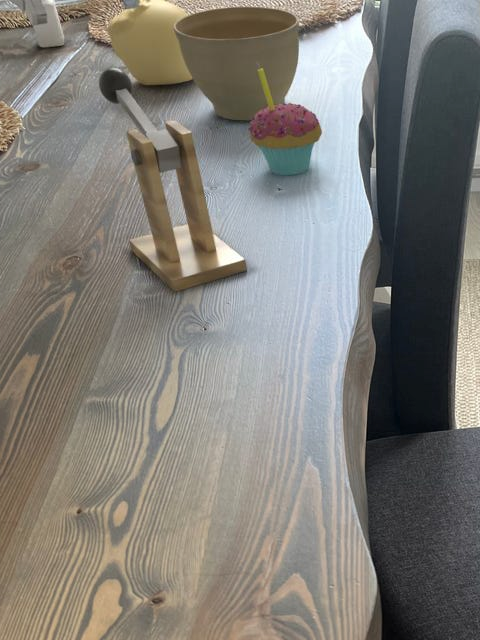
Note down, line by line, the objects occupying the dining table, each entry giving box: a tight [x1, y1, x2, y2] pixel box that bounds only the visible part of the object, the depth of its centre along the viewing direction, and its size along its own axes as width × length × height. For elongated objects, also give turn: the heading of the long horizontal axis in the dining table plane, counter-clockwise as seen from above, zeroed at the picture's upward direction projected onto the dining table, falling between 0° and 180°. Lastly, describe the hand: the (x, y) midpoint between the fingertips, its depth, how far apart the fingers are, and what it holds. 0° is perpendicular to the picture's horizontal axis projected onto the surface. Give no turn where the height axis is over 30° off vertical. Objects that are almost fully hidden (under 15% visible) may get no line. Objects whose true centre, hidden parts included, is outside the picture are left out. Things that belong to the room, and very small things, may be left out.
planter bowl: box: [174, 6, 300, 122], centre depth 135 cm, size 16×16×11 cm
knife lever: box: [98, 67, 181, 174], centre depth 100 cm, size 14×3×3 cm, turn 34°
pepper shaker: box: [32, 0, 65, 49], centre depth 161 cm, size 4×4×10 cm
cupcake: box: [248, 62, 323, 176], centre depth 120 cm, size 9×8×12 cm
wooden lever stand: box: [125, 119, 248, 293], centre depth 101 cm, size 12×8×13 cm, turn 35°
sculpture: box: [107, 0, 193, 86], centre depth 146 cm, size 12×12×11 cm
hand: (87, 12), depth 100 cm, fingers open, 8 cm apart
